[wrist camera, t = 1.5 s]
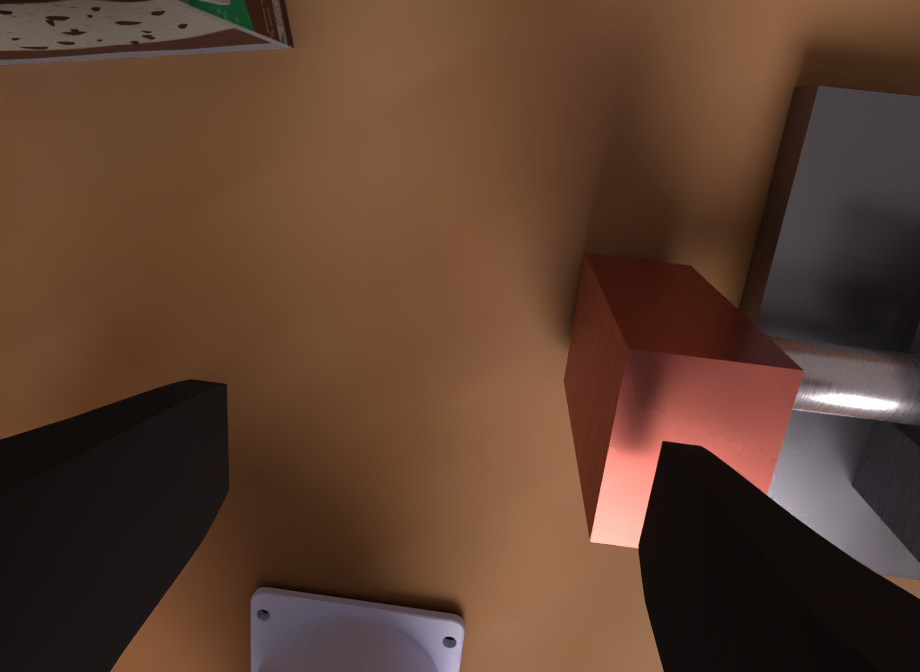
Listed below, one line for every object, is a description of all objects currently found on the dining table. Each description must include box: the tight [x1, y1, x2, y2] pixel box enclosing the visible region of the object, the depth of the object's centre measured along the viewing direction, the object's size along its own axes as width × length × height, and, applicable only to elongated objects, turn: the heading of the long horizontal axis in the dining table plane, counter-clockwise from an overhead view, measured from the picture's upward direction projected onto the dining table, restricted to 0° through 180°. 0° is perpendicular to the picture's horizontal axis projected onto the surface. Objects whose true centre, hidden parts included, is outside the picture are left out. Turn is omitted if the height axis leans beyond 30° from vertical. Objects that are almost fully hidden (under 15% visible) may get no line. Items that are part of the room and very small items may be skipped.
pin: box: [564, 253, 920, 548], centre depth 16 cm, size 14×4×8 cm, turn 84°
